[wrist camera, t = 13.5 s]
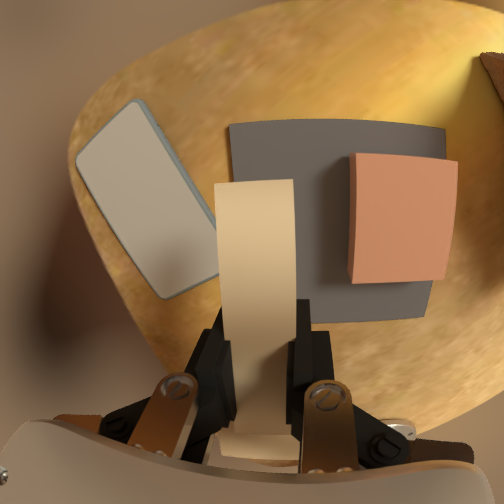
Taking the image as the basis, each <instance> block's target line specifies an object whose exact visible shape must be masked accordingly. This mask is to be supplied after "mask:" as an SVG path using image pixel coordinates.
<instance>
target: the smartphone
mask: <svg viewBox="0 0 504 504" xmlns="http://www.w3.org/2000/svg"><path fill="white" fill-rule="evenodd" d="M75 164H76V167H77V169H78V171H79V173H80V175H81V177H82V178H83V180H84V182H85V184H86V186H87V188H88V189H89V191H90V193H91V195H92V196H93V198H94V200H95V202H96V203H97V205H98V207H99V209H100V210H101V212H102V214H103V215H104V217H105V219H106V220H107V222H108V224H109V225H110V227H111V228H112V230H113V232H114V233H115V235H116V236H117V238H118V239H119V241H120V243H121V244H122V246H123V247H124V249H125V250H126V252H127V253H128V255H129V256H130V258H131V259H132V261H133V262H134V264H135V265H136V267H137V268H138V269H139V271H140V272H141V274H142V275H143V277H144V278H145V279H146V281H147V282H148V284H149V285H150V286H151V288H152V289H153V290H154V292H155V293H156V295H157V296H158V297H160V298H161V299H164V300H168V299H171V298H173V297H175V296H177V295H179V294H181V293H183V292H185V291H188V290H190V289H192V288H194V287H196V286H198V285H200V284H202V283H204V282H206V281H209V280H211V279H213V278H215V277H217V276H219V263H218V247H217V230H216V218H215V217H214V215H213V214H212V212H211V210H210V209H209V207H208V205H207V204H206V202H205V201H204V199H203V197H202V196H201V194H200V192H199V191H198V189H197V188H196V186H195V184H194V183H193V181H192V179H191V178H190V176H189V174H188V173H187V171H186V170H185V168H184V166H183V165H182V163H181V161H180V160H179V158H178V156H177V155H176V153H175V152H174V150H173V148H172V147H171V145H170V143H169V142H168V140H167V138H166V137H165V135H164V133H163V132H162V130H161V128H160V127H159V125H158V124H157V122H156V120H155V119H154V117H153V115H152V114H151V112H150V110H149V109H148V107H147V105H146V104H145V102H144V101H143V100H141V99H133V100H131V101H129V102H128V103H127V104H126V105H125V106H124V107H123V108H122V109H121V110H119V111H118V112H117V113H116V114H115V115H114V116H113V117H112V118H111V119H110V120H109V121H108V122H107V123H106V124H105V125H104V126H103V127H102V128H101V129H100V130H99V131H98V132H97V133H96V134H95V135H94V136H93V137H92V138H91V139H90V140H89V142H88V143H87V144H86V145H85V146H84V147H83V148H82V149H81V150H80V151H79V153H78V154H77V155H76V158H75Z"/></svg>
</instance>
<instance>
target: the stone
mask: <svg viewBox="0 0 504 504" xmlns="http://www.w3.org/2000/svg"><path fill="white" fill-rule="evenodd" d="M480 58H481V61H482V63H483V65H484V67H485V68H486V69H487V71H488V72H489V74H490V76H491V78H492V80H493V83H494V86H495V88H496V90H497V91H498V93H499V95H500V97H501V99H502V101H503V103H504V54H503V53H501V54H500V53H495V52H486V53H483V52H482V53H481V54H480Z"/></svg>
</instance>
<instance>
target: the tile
mask: <svg viewBox="0 0 504 504" xmlns="http://www.w3.org/2000/svg"><path fill="white" fill-rule="evenodd" d="M349 161H350V225H349V249H348V266H347V271H348V274H349V276H350V279H351V282H352V284H359V283H387V282H409V281H428V280H444V278H445V274H446V269H447V264H448V259H449V253H450V247H451V241H452V234H453V227H454V219H455V209H456V198H457V181H458V162H457V161H452V160H447V159H440V158H431V157H422V156H411V155H399V154H383V153H360V152H349Z"/></svg>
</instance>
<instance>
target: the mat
mask: <svg viewBox="0 0 504 504" xmlns="http://www.w3.org/2000/svg"><path fill="white" fill-rule="evenodd" d="M229 131H230V143H231V155H232V166H233V177H234V182H244V181H261V180H283V179H293V190H294V213H295V245H296V299H310V315H311V323H339V322H363V321H380V320H395V319H407V318H418V317H424V315H425V311H426V307H427V303H428V299H429V295H430V291H431V287H432V282H433V280H428V281H409V282H387V283H359V284H352V282H351V279H350V276H349V274H348V271H347V266H348V249H349V225H350V161H349V152H360V153H383V154H399V155H411V156H422V157H431V158H440V159H446V135H445V129H441V128H435V127H428V126H421V125H414V124H405V123H396V122H385V121H371V120H352V119H292V120H272V121H258V122H246V123H236V124H229Z"/></svg>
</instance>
